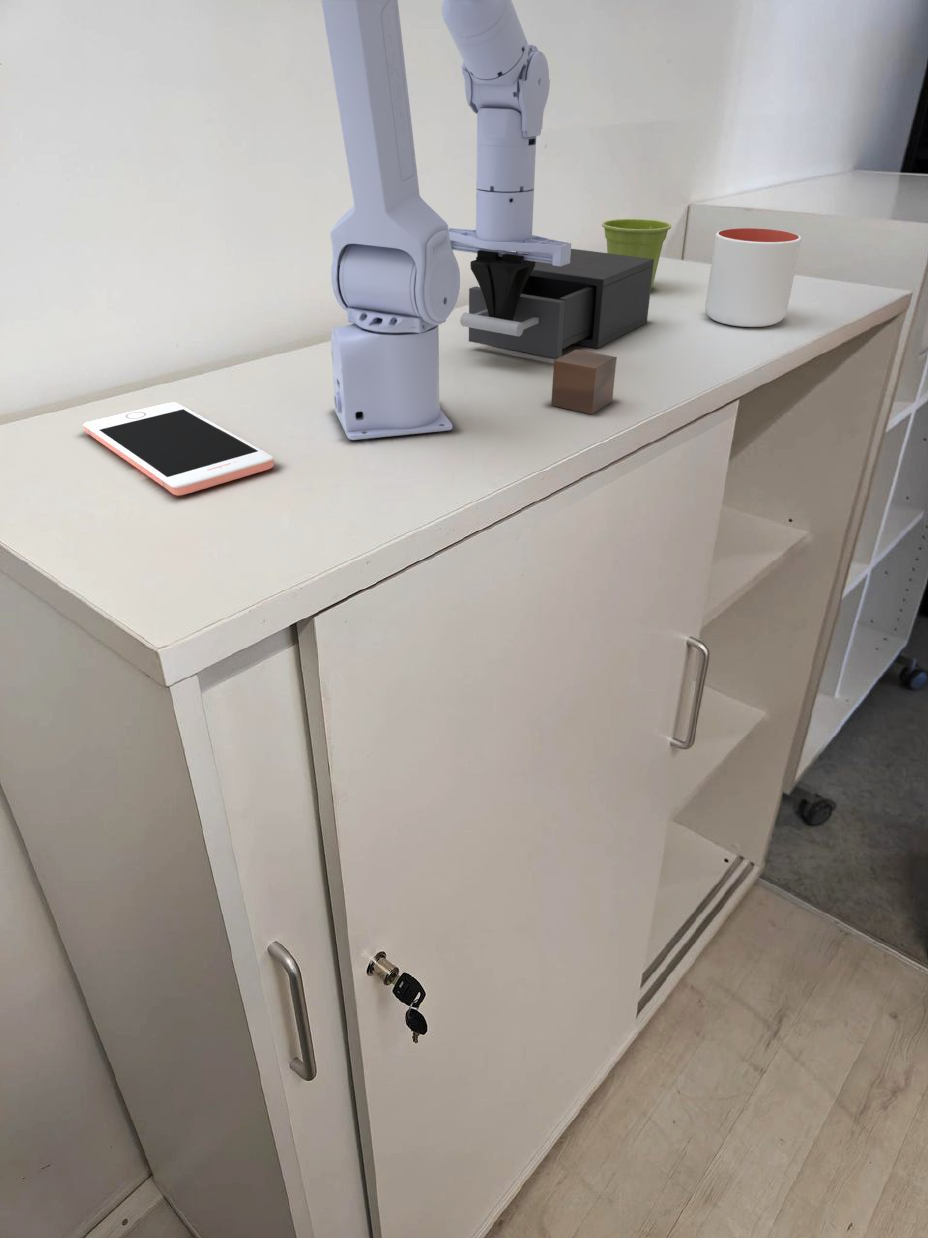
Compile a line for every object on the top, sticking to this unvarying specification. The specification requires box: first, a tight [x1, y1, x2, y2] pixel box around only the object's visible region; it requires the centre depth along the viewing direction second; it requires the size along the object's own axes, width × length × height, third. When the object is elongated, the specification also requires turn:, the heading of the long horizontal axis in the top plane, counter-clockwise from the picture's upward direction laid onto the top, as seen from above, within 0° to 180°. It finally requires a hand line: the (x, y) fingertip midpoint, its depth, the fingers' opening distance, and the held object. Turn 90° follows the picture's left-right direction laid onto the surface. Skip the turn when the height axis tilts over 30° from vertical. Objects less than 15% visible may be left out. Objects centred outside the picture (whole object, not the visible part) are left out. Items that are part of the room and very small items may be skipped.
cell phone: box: [83, 401, 275, 496], centre depth 75 cm, size 9×18×1 cm, turn 41°
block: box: [550, 349, 617, 415], centre depth 85 cm, size 4×4×4 cm
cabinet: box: [530, 248, 654, 350], centre depth 107 cm, size 14×13×8 cm
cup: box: [704, 227, 802, 328], centre depth 110 cm, size 10×10×10 cm
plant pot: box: [601, 218, 672, 290], centre depth 124 cm, size 9×9×9 cm
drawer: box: [460, 276, 597, 359], centre depth 99 cm, size 17×11×6 cm, turn 146°
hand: (501, 328), depth 95 cm, fingers closed, pressing on drawer
